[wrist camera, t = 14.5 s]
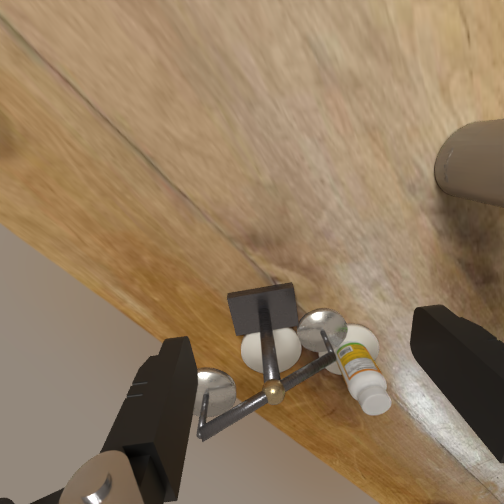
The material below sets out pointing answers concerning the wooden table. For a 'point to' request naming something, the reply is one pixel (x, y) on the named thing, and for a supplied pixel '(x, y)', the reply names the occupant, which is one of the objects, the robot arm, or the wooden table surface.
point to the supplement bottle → (363, 377)
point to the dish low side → (360, 335)
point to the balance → (266, 353)
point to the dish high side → (284, 344)
